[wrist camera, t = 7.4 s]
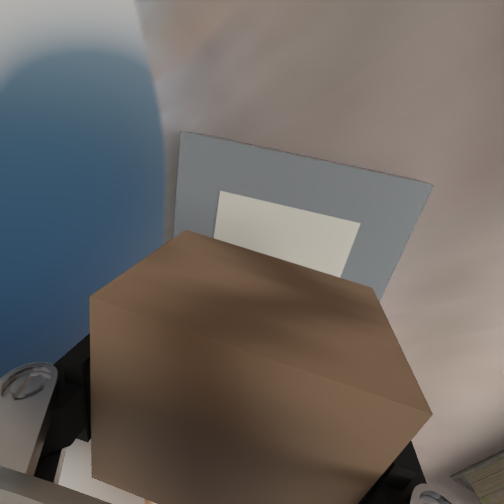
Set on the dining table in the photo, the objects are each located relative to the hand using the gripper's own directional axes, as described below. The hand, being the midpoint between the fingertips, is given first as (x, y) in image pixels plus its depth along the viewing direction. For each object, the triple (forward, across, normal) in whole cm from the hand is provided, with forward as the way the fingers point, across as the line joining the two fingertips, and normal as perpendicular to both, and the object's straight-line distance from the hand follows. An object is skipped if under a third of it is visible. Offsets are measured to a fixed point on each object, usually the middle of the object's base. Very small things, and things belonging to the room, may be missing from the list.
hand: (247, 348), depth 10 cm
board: (+10, 0, 0) cm, 10 cm away
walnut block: (+1, 0, 0) cm, 1 cm away
